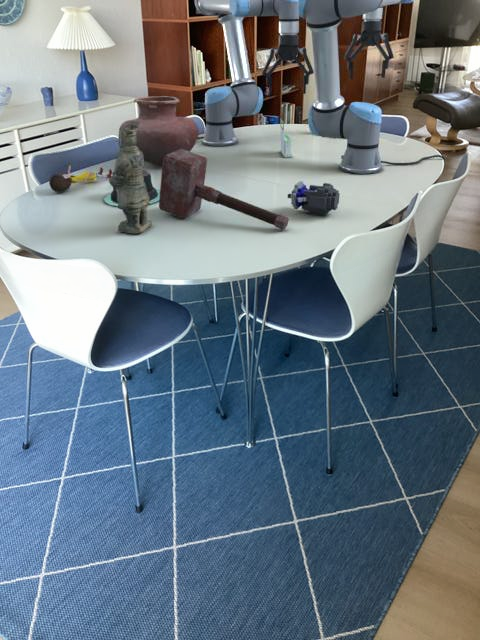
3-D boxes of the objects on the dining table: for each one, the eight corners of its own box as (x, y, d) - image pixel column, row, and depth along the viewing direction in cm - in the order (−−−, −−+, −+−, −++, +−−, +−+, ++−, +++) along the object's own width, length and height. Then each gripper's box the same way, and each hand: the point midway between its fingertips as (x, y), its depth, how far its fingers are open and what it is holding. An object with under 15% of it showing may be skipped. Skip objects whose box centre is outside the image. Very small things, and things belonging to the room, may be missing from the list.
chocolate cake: (91, 202, 180) (113, 186, 197) (142, 231, 182) (160, 212, 199) (107, 162, 172) (129, 148, 190) (160, 192, 174) (177, 176, 192)
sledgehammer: (299, 190, 156) (179, 147, 167) (285, 200, 148) (161, 154, 160) (286, 244, 166) (174, 200, 177) (272, 256, 158) (156, 209, 170)
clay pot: (207, 155, 234) (203, 91, 222) (188, 175, 209) (184, 105, 196) (138, 153, 239) (131, 91, 226) (112, 172, 214) (103, 104, 201)
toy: (295, 178, 172) (342, 184, 166) (295, 205, 177) (340, 211, 171) (285, 186, 166) (333, 192, 160) (284, 213, 170) (331, 220, 164)
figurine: (118, 166, 204) (64, 174, 185) (119, 186, 207) (65, 196, 188) (93, 161, 211) (38, 168, 191) (95, 181, 214) (40, 190, 195)
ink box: (287, 151, 237) (288, 117, 230) (290, 157, 229) (291, 122, 222) (279, 151, 237) (280, 117, 230) (282, 157, 229) (283, 122, 221)
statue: (131, 220, 168) (117, 116, 152) (158, 224, 164) (147, 118, 149) (109, 233, 159) (93, 124, 144) (138, 237, 156) (124, 126, 140)
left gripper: (319, 32, 214) (316, 91, 225) (254, 34, 213) (255, 93, 223) (323, 33, 208) (319, 94, 218) (256, 35, 206) (256, 96, 217)
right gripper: (399, 19, 224) (393, 76, 235) (338, 20, 223) (335, 77, 234) (405, 19, 218) (399, 78, 229) (343, 21, 217) (339, 80, 227)
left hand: (287, 94), depth 221 cm, fingers open, 13 cm apart
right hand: (366, 78), depth 231 cm, fingers open, 13 cm apart
